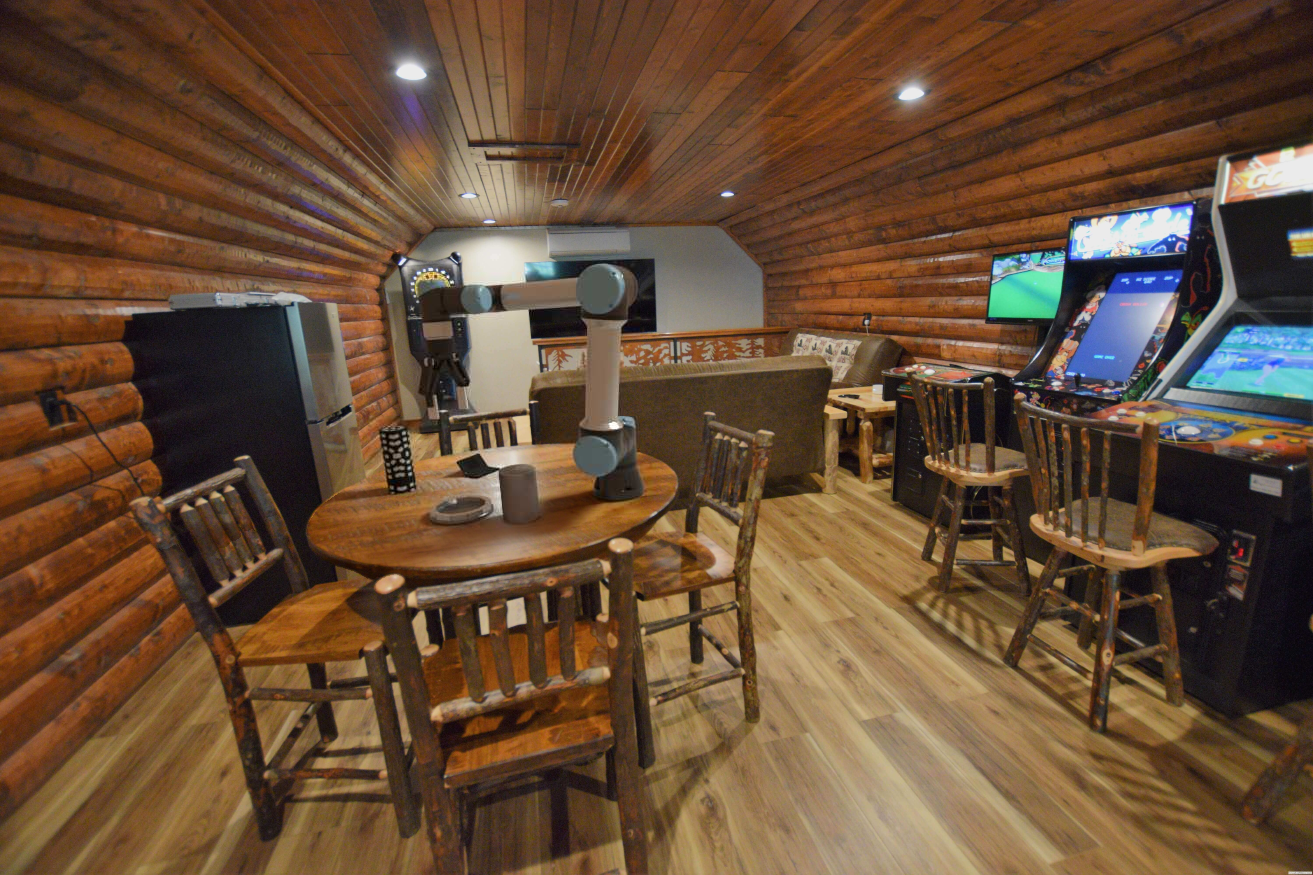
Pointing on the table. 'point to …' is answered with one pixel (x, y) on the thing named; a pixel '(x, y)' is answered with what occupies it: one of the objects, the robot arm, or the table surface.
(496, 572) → the table surface
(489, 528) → the table surface
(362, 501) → the table surface
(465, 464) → the handheld gaming console
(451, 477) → the table surface
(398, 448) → the white-spotted black cylinder
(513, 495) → the pillar candle
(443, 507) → the ring plate
